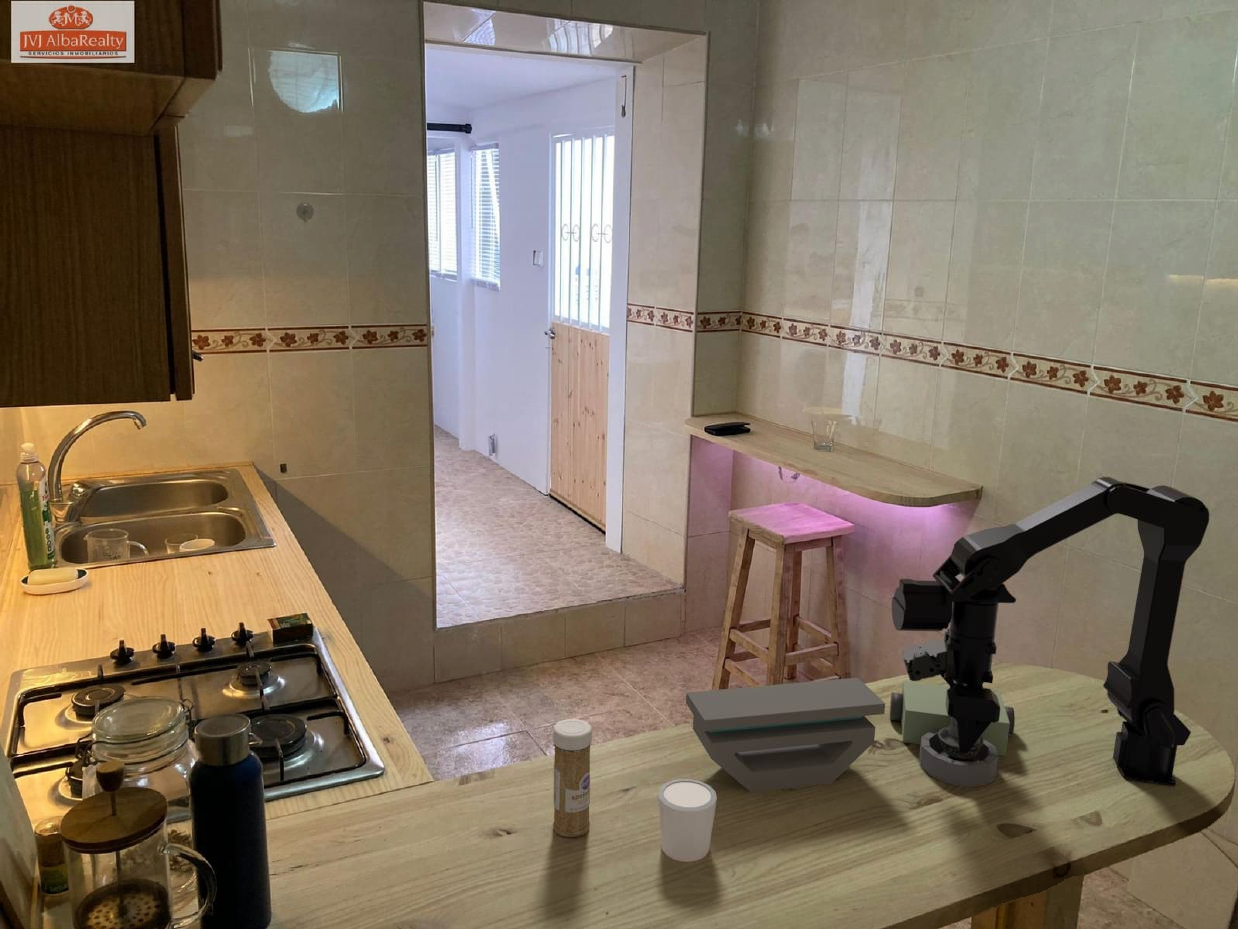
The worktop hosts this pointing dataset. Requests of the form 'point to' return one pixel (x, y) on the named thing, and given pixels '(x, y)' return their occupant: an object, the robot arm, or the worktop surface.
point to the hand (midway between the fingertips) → (960, 737)
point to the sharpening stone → (786, 730)
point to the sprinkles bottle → (572, 777)
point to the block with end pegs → (928, 715)
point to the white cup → (686, 818)
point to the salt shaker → (956, 744)
